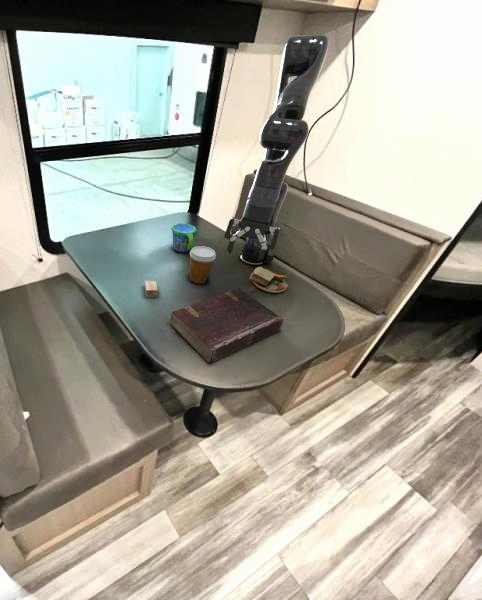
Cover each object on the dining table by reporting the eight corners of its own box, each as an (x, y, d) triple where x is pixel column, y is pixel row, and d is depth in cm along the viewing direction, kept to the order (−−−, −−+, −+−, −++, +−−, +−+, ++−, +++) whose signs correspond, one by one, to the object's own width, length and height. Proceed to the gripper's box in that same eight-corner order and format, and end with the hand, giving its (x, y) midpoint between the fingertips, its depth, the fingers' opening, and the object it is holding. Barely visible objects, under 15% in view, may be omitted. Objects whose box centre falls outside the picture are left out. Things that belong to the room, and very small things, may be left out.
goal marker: (155, 287, 116) (155, 280, 114) (156, 297, 111) (157, 290, 109) (144, 287, 116) (144, 280, 114) (145, 297, 111) (146, 290, 109)
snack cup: (164, 242, 147) (166, 221, 141) (185, 240, 149) (188, 220, 143) (175, 258, 135) (178, 236, 129) (198, 256, 137) (202, 234, 131)
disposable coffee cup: (210, 287, 117) (216, 259, 110) (184, 283, 119) (189, 255, 112) (210, 274, 125) (216, 247, 118) (186, 271, 126) (190, 244, 119)
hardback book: (209, 363, 87) (213, 350, 84) (169, 324, 100) (171, 311, 97) (279, 330, 99) (284, 318, 96) (235, 299, 112) (239, 287, 109)
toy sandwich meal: (276, 298, 113) (280, 287, 110) (243, 282, 121) (246, 272, 118) (291, 286, 120) (296, 275, 117) (259, 271, 128) (263, 261, 125)
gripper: (289, 204, 86) (269, 257, 95) (237, 194, 91) (223, 246, 100) (288, 211, 80) (267, 267, 89) (233, 200, 85) (218, 254, 94)
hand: (244, 256), depth 95 cm, fingers open, 8 cm apart
